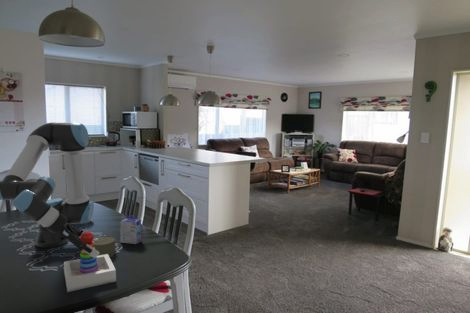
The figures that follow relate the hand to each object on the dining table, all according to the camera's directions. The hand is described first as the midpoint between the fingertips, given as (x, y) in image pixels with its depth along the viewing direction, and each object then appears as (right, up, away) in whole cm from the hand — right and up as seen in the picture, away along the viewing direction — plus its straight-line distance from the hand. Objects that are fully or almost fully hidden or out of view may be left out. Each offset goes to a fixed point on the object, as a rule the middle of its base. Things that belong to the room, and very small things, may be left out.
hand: (94, 249), depth 139 cm
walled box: (-2, -12, 0) cm, 12 cm away
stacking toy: (-2, -11, 0) cm, 11 cm away
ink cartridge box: (+3, -7, +40) cm, 41 cm away
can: (-6, -9, +24) cm, 27 cm away
